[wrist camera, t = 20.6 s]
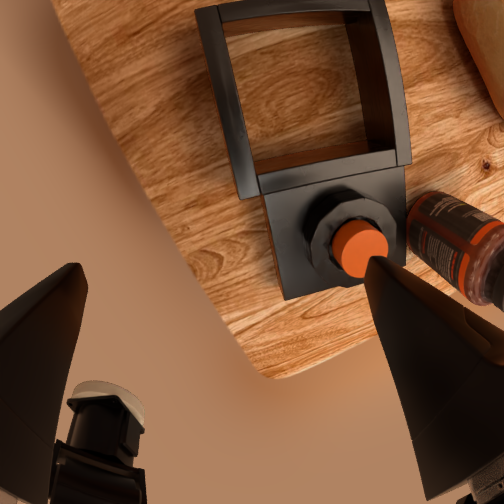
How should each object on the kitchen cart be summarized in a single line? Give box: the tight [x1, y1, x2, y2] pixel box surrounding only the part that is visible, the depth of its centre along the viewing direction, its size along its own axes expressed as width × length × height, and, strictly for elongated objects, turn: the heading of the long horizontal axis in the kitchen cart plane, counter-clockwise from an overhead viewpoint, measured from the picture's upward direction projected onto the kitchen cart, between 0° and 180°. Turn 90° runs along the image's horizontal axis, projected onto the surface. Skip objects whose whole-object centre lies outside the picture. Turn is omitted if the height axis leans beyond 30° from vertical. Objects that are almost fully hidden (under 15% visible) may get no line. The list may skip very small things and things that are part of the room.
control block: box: [260, 166, 406, 301], centre depth 21 cm, size 10×8×4 cm
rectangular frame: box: [194, 0, 412, 200], centre depth 17 cm, size 11×11×4 cm
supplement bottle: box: [406, 191, 504, 312], centre depth 19 cm, size 6×6×11 cm
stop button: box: [332, 220, 388, 278], centre depth 19 cm, size 3×3×2 cm
